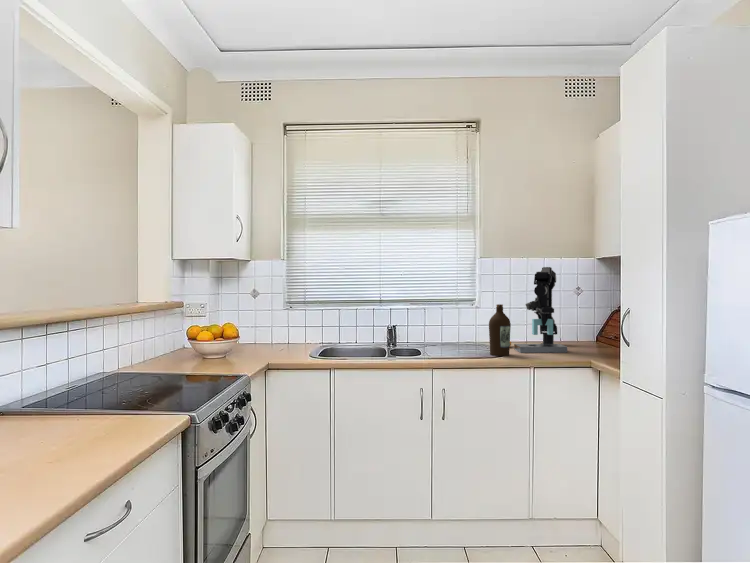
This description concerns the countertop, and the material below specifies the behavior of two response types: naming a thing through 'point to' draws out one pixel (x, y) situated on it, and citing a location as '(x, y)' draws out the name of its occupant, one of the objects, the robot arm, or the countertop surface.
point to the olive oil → (499, 333)
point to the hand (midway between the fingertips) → (542, 325)
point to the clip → (539, 322)
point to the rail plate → (540, 348)
